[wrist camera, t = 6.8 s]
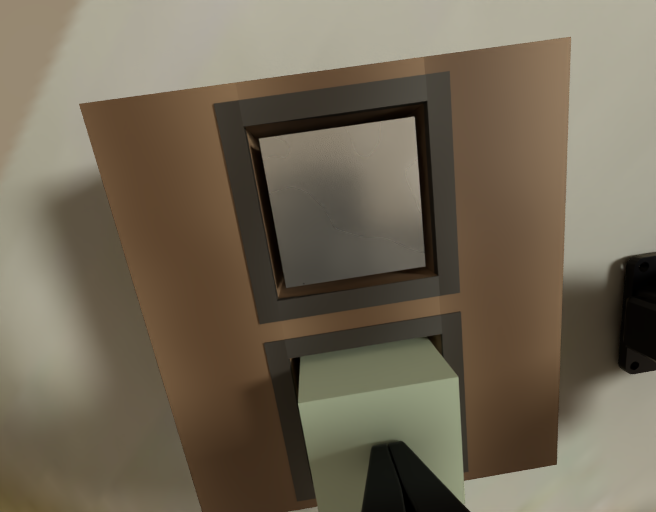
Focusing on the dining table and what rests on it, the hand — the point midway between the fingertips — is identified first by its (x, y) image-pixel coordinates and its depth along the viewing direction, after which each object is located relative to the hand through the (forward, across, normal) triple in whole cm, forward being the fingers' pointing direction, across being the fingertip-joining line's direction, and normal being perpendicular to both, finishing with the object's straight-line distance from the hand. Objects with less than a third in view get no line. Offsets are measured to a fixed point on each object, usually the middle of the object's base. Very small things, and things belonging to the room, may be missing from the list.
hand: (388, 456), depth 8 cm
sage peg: (+6, 0, 0) cm, 6 cm away
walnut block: (+8, 0, -3) cm, 8 cm away
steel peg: (+8, 0, -6) cm, 10 cm away
